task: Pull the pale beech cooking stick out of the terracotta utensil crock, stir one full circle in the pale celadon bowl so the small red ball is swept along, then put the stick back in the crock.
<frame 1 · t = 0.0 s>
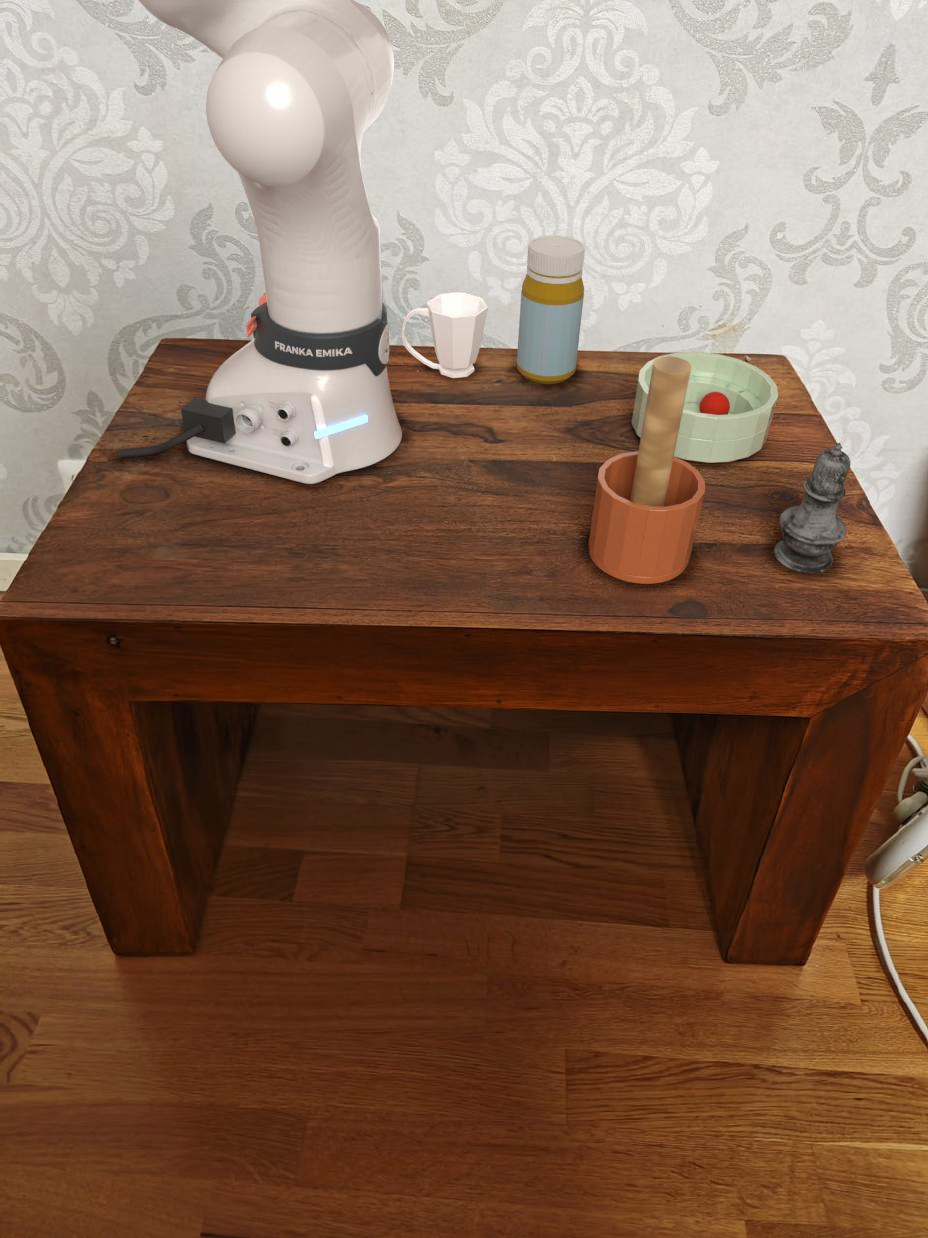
bowl: (697, 432, 106), on the table
grey chess piece: (802, 557, 90), on the table
crock: (638, 552, 89), on the table
stick: (639, 545, 89), point 1 cm above the table, touching crock
ball: (714, 406, 105), point 2 cm above the table, touching bowl
bottle: (545, 373, 115), on the table
cup: (443, 369, 115), on the table
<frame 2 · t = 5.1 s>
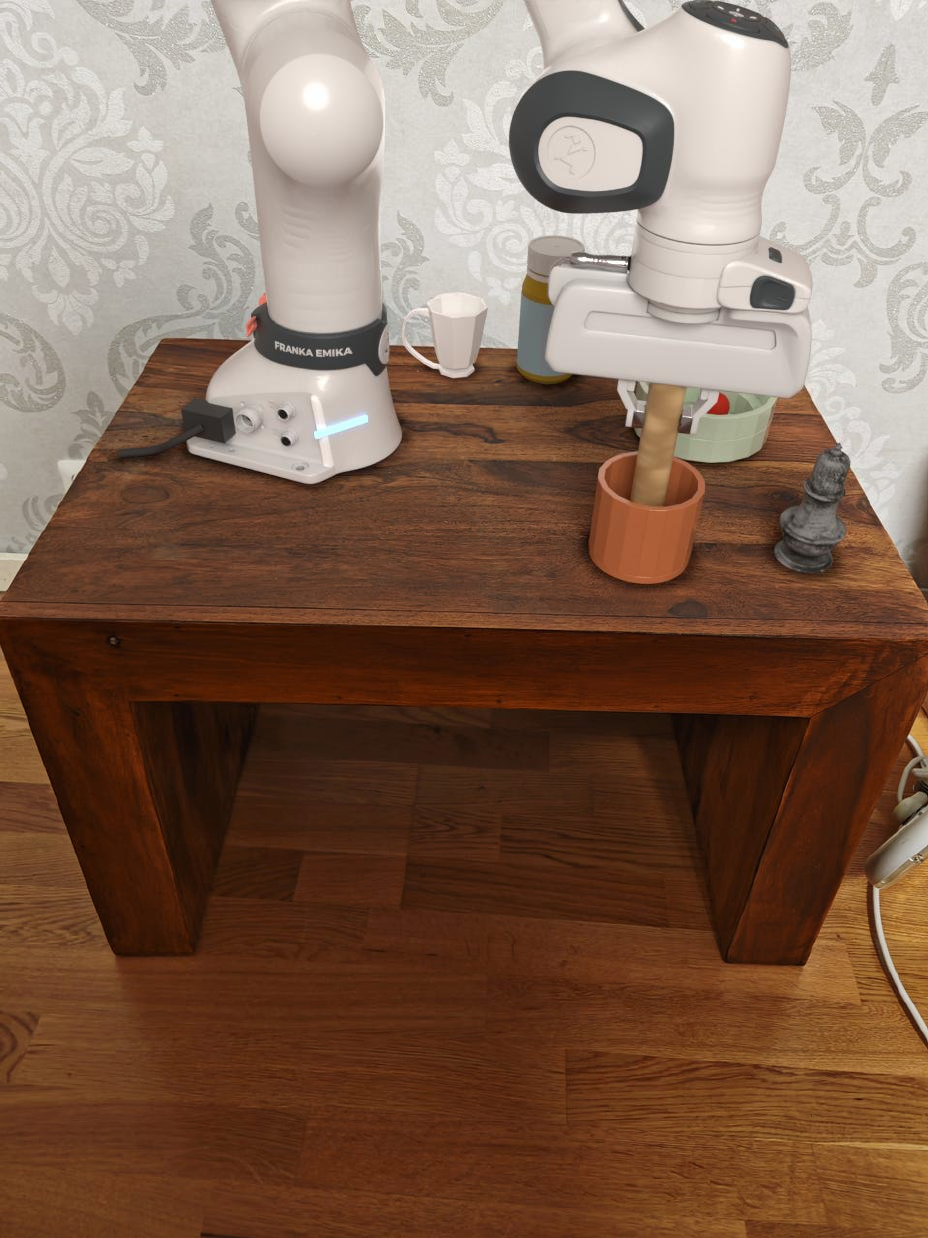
hand: (660, 427, 81), 13 cm above the table, tool pointing down, fingers closed on stick, 3 cm apart
stick: (639, 545, 89), point 1 cm above the table, touching crock, gripper
everything else where it was.
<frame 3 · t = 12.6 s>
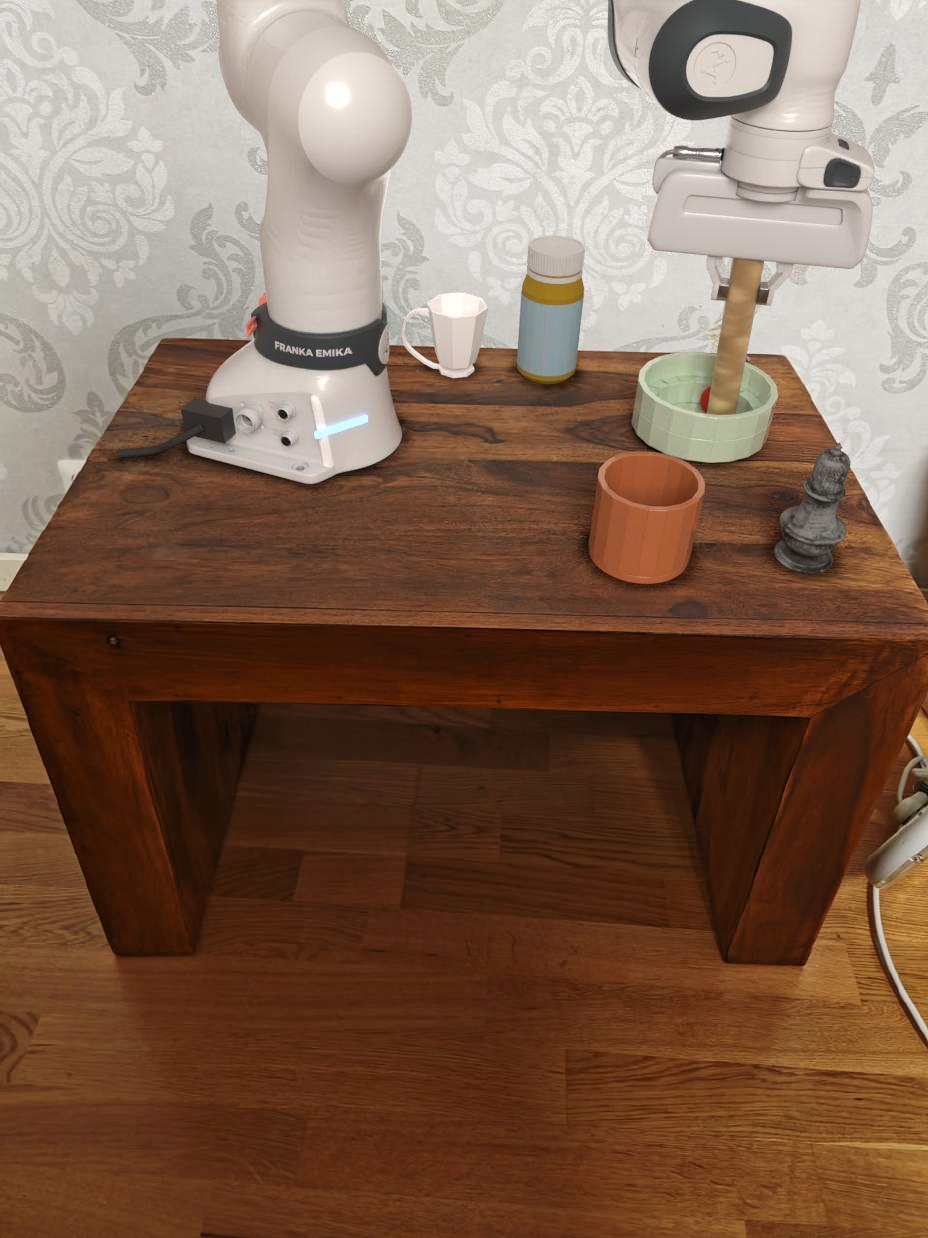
hand: (740, 300, 96), 15 cm above the table, tool pointing down, fingers closed on stick, 3 cm apart
stick: (720, 414, 104), point 2 cm above the table, touching ball, gripper
ball: (715, 400, 106), point 2 cm above the table, tilted 53°, touching bowl, stick
everything else where it was.
when the fingers open (13 cm above the table, at t = 21.7 s): stick stays where it is, resting on crock.
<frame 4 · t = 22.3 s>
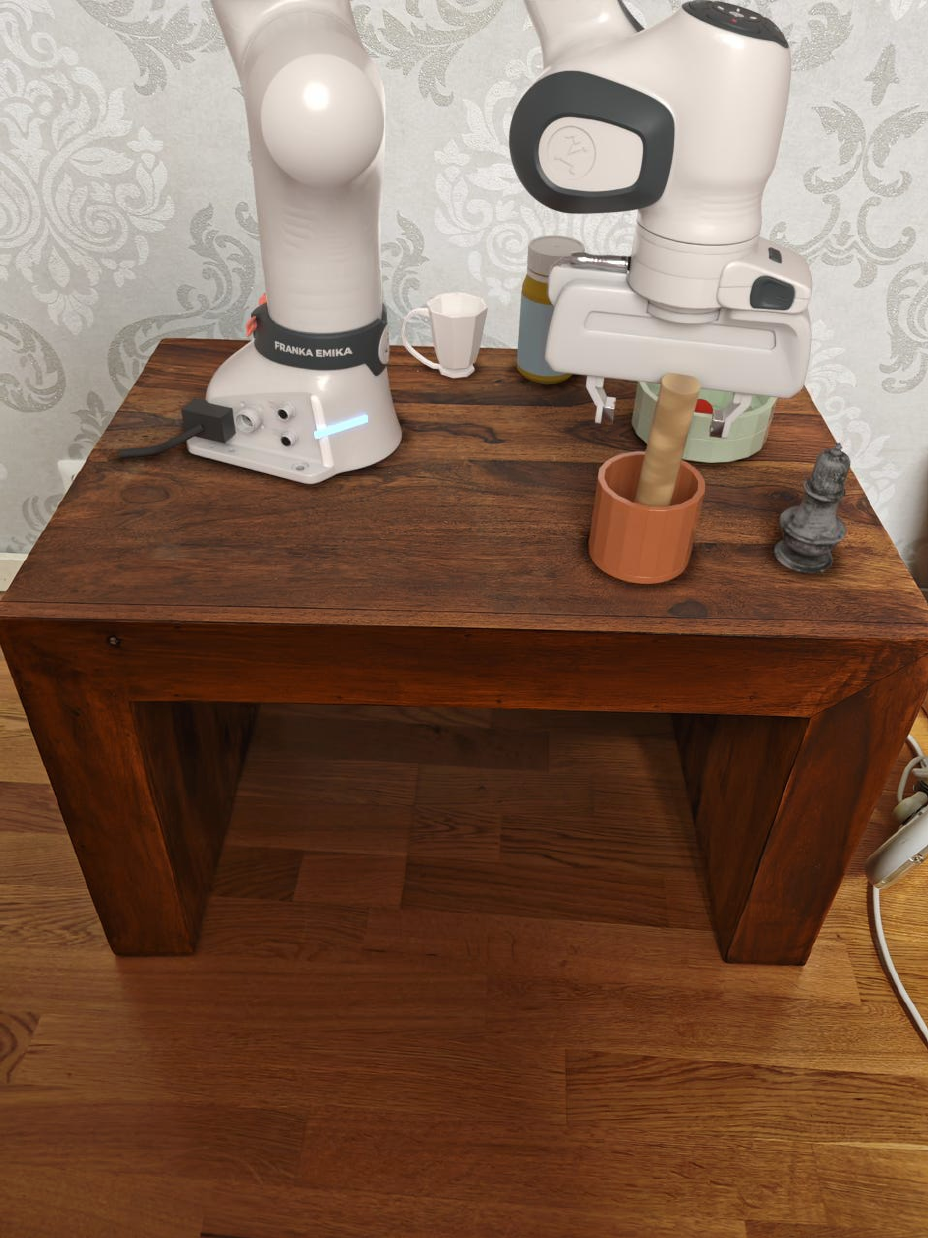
hand: (660, 427, 81), 13 cm above the table, tool pointing down, fingers open, 8 cm apart
stick: (639, 555, 87), point 1 cm above the table, touching crock
ball: (698, 413, 104), point 2 cm above the table, tilted 88°, touching bowl
everything else where it was.
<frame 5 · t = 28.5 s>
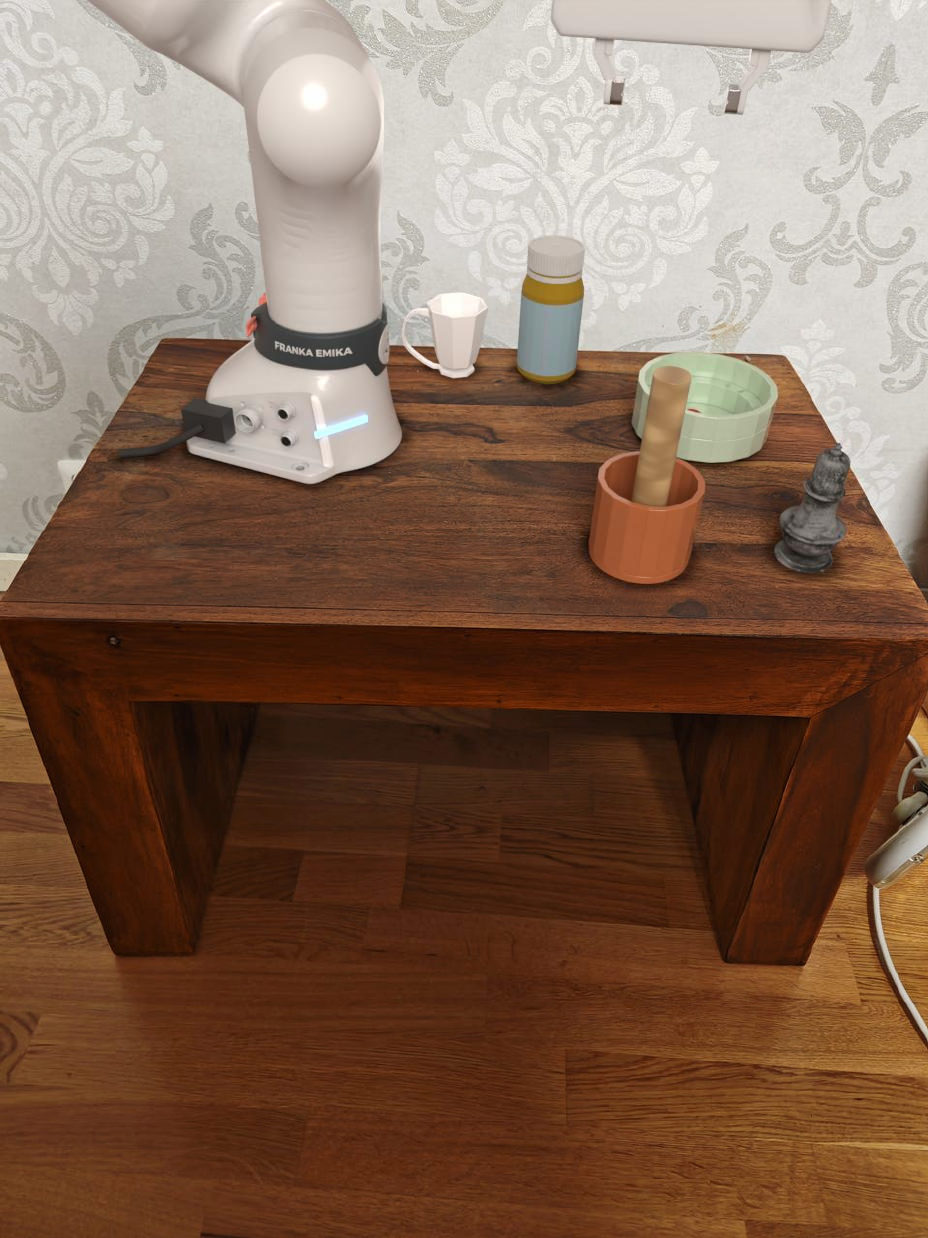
hand: (672, 107, 77), 34 cm above the table, tool pointing down, fingers open, 8 cm apart
ball: (690, 424, 102), point 2 cm above the table, tilted 178°, touching bowl
at the end: ball moved 5.1 cm from its start; ball inside the target area in the bowl (2.8 cm from its centre), point 2.4 cm above the bowl's base; stick 1.7 cm off-centre in the crock, point 0.8 cm above the crock's base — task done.
